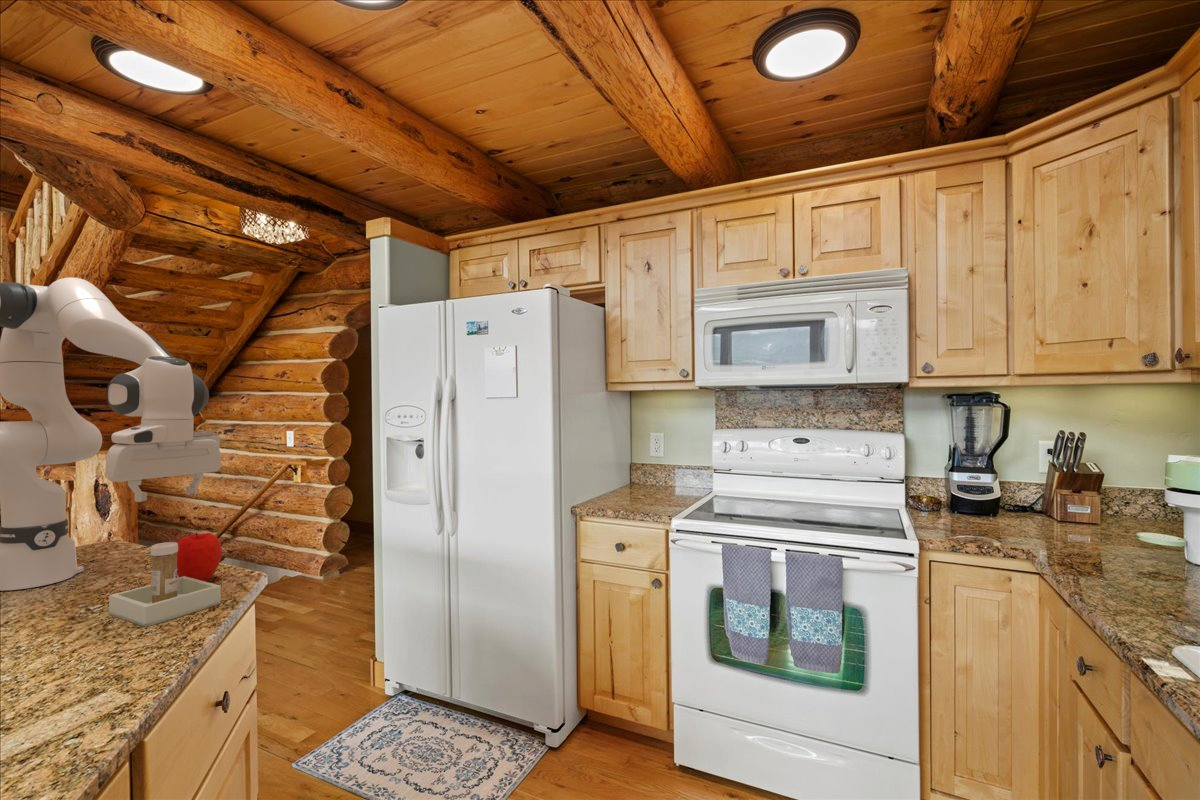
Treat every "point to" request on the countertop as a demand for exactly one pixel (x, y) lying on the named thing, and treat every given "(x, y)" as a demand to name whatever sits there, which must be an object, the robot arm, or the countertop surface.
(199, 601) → the bin
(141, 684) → the countertop surface
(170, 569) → the sprinkles bottle
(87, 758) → the countertop surface
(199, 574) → the apple
